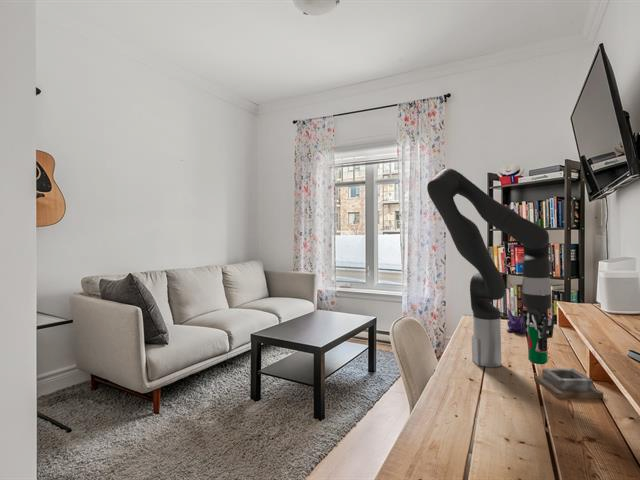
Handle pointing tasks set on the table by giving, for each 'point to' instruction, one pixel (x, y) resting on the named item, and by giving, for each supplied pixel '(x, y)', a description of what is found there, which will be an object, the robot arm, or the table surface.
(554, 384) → the grey hollow square frame
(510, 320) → the creature
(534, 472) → the table surface
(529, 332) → the soda can
